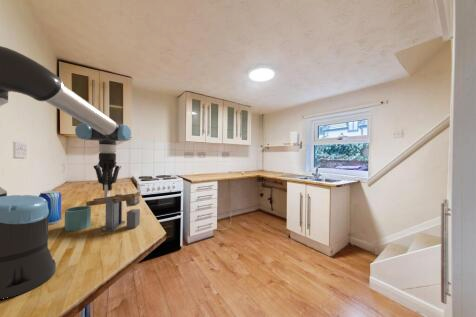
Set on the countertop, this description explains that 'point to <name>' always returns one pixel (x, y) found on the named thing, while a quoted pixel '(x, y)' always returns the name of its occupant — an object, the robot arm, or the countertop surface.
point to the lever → (118, 199)
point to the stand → (113, 214)
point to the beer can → (53, 205)
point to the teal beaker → (77, 218)
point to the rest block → (133, 218)
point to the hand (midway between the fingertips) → (107, 196)
